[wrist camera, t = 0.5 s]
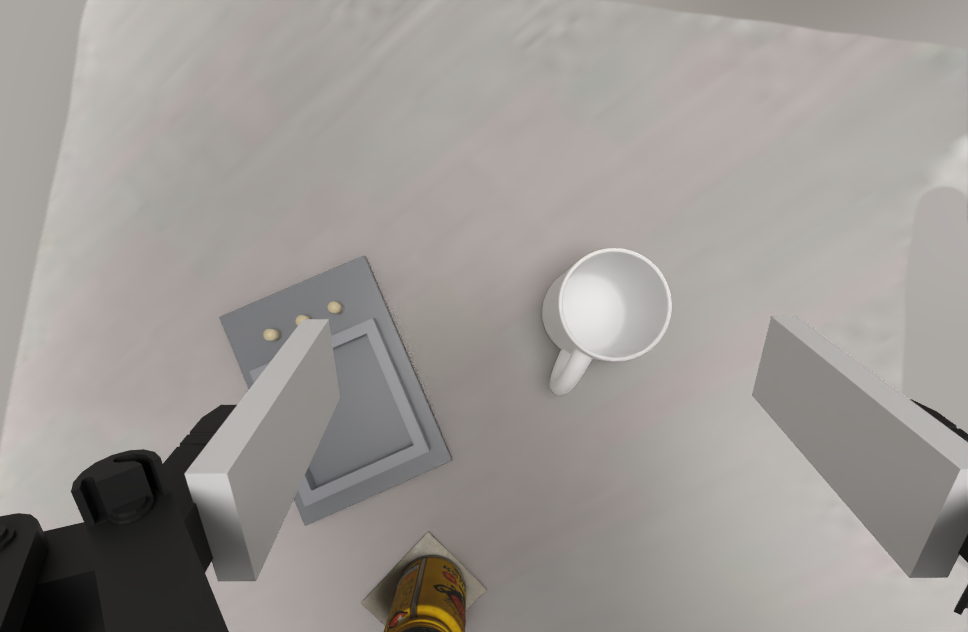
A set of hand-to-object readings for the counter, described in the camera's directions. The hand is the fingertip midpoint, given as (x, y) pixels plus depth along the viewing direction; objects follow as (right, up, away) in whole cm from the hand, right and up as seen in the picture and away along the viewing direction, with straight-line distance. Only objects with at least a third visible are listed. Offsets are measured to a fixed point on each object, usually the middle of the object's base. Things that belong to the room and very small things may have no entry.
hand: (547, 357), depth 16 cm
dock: (-15, -5, +31) cm, 35 cm away
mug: (+7, 0, +32) cm, 33 cm away
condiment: (-7, -24, +30) cm, 39 cm away
